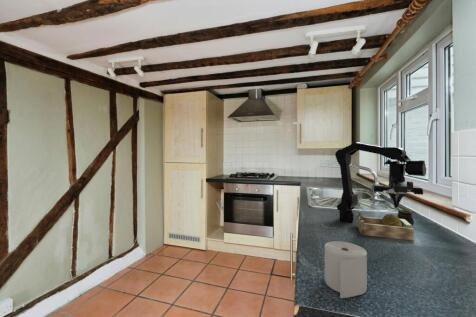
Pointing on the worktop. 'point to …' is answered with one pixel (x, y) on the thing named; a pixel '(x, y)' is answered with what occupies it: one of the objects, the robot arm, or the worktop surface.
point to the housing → (382, 228)
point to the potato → (391, 220)
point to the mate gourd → (406, 216)
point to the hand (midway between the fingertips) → (395, 207)
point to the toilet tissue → (346, 268)
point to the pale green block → (405, 223)
